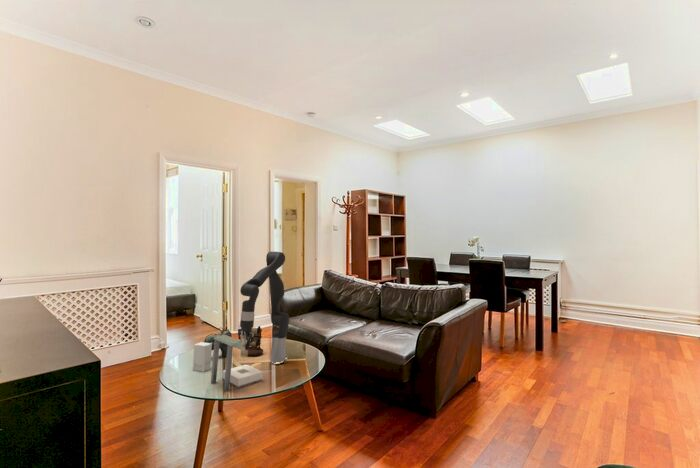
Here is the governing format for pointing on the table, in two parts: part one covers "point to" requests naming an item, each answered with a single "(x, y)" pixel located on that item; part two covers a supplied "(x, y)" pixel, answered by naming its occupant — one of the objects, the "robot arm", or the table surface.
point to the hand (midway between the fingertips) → (244, 348)
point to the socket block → (243, 375)
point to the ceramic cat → (221, 345)
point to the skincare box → (202, 356)
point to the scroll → (256, 342)
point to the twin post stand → (231, 343)
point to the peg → (244, 352)
